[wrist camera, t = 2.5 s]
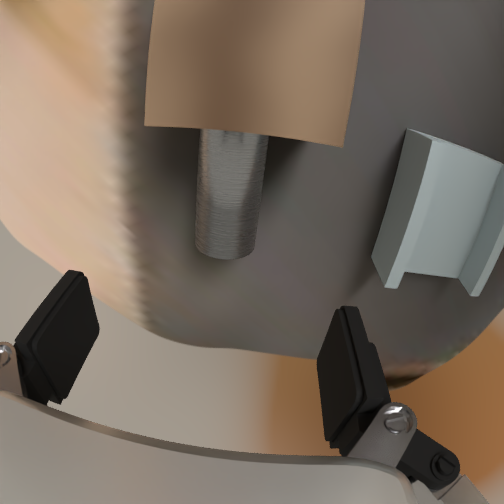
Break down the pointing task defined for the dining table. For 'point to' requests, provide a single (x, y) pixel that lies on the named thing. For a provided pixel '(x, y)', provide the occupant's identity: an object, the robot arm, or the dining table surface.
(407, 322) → the dining table surface
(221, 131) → the axle
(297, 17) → the hollow wooden box
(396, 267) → the cradle
